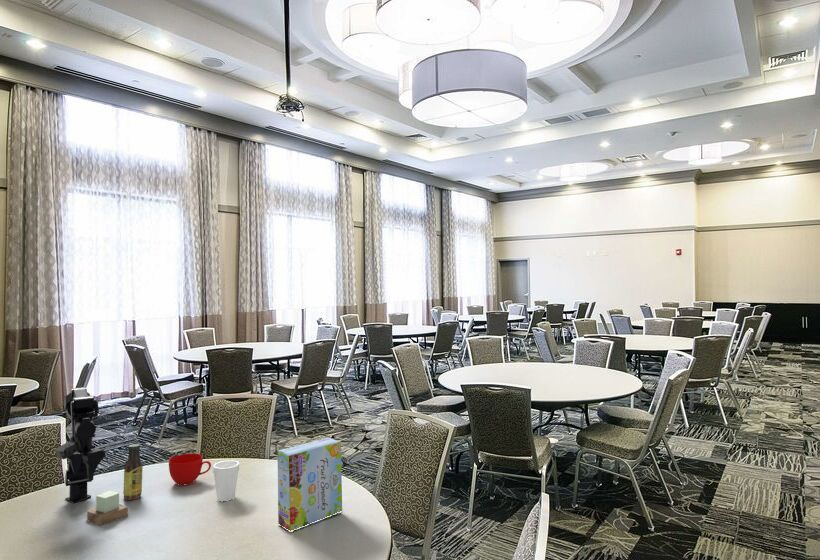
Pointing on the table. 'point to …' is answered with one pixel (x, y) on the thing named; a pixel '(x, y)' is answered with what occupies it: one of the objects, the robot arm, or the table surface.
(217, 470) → the foam cup
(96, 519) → the walnut block
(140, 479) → the sauce bottle
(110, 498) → the sage cube
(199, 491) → the table surface
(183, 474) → the ceramic cup
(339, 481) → the snack box
